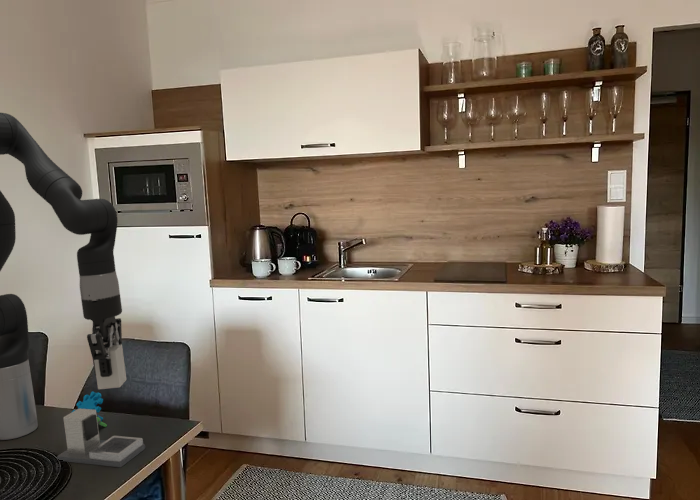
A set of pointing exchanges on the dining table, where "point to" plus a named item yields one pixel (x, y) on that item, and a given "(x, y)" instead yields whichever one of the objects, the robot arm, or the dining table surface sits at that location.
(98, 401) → the blue spiky virus toy
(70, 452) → the base with upright block
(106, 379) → the block
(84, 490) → the dining table surface
